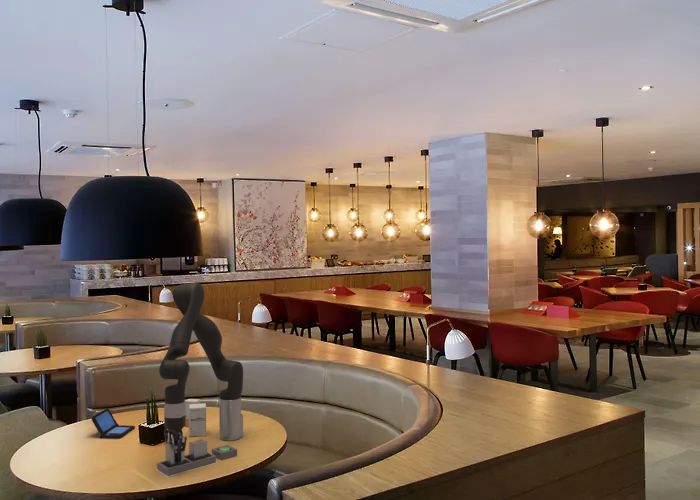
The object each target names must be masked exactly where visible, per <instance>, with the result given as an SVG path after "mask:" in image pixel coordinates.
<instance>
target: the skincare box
mask: <svg viewBox="0 0 700 500" xmlns="http://www.w3.org/2000/svg"><path fill="white" fill-rule="evenodd" d="M189 404H201V399H198V398H188V399H185V408H186V425H185V427H188V428H189ZM185 427H184V428H185Z"/></svg>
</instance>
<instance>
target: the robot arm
mask: <svg viewBox="0 0 700 500" xmlns="http://www.w3.org/2000/svg"><path fill="white" fill-rule="evenodd" d="M172 298H173V301H174V304H175V306H176V307H177V309H178V310H179V312H180V313H181V314H182V317H181V319H180V321H179V322H178V323H177V325H176V326H175V328H174V330H172V335H171V338H170V343H169V347H168V350H167V352H166V353H165V356H164V357H163V358H162V361H161V362H160V365H159V370H158V372H159V375H160V378H161V379H164V380H177V383H175V384H170V385H168V386H166V387H165V388H164V407H163V410H164V411H163V412H164V419H163V421H164V422H163V423H164V424H163V425H164V426H163V427H164V428H165V429H164V430H163V435H164V441H165V443H167V442H173V446H174V447H175V462H176V463H179V462H181V452H182V451H186V445H187V441H188V438H187V436H184V432H183V429H184V428H185V425H186V408H185V400H186V399H185V398H186V397H185V396H186V394H185V392H186V385H187V380H188V377H189V374H190V369H191V368H190V364H189V362H188V361H187V360H186V359H178V358H183V357H185V356H187V355H188V352H189V348H190V343H191V337H192V335H193V334H192V333H194V335H195V337H196V339H197V341H198V343H199V344H200V345H201V348H202V349H203V351H204V353H205V355H206V357H207V359H208V360H209V363H210V366H211V368H212V371H213V373H214V376H215V377H216V379H218V380H219V381H221V382H225V383H227V387H226V388H224V389H222V390H220V391H219V394H218V395H219V396H218V397H219V399H218V400H219V401H218V402H219V403H218V405H219V409H218V410H219V412H218V414H219V420H218V421H219V439H220V440H222V441H229V442H230V441H235V440H239V439H241V438H243V437H244V414H243V413H242V393H243V388H244V387H243V386H244V385H243V384H244V367H243V363H241V361H237V360H230V359H226V357H225V356H224V354H223V351H222V344H223V337H222V334H221V332H220V329H219V328H218V326H217V324H216V323H215V322H214V321H213V320H212V319H211V318H210V317H208V316H206V315H205V314H203V313H201V312H200V311H201V309H202V306H203V304H204V299H205V289H204V287H203V285H201V283H199V282H191V283H183V284H180V285H177V286H176V285H175V287H174V288H173V290H172ZM177 442H179V443H178V444H176V443H177ZM177 446H178V449H177Z"/></svg>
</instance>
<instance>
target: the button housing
mask: <svg viewBox="0 0 700 500" xmlns="http://www.w3.org/2000/svg"><path fill="white" fill-rule="evenodd" d="M221 447H229V448H230V450H228V451H225V452H221V451H219V449H220V448H221ZM211 454H213V455H215V456H216V459H218V460H220V461H224V460H228V459H230V458H235V457H237V456H238V449H237V448H235V447H233V446H230V445H228V444H226V445H222V446H218V447H214V448H211Z"/></svg>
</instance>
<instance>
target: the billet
mask: <svg viewBox="0 0 700 500" xmlns="http://www.w3.org/2000/svg"><path fill="white" fill-rule="evenodd" d="M178 443H179V442H177V443H176V444H178ZM177 449H178V446H177ZM185 451H186V450H185ZM185 451H182V452H181V462H179V463H176V462H175V447H174V446H173V442H167V443H165V461H166V465H167V466H169V467H174V466H178V465H181V464H185V455H186V454H185Z"/></svg>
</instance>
